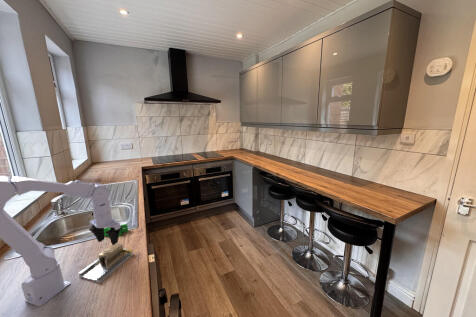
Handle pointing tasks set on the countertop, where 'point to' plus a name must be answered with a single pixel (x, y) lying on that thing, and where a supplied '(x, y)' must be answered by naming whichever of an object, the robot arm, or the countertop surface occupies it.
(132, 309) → the countertop surface
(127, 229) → the pipe clamp
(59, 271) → the robot arm
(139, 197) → the countertop surface
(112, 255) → the tan notched block
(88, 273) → the silver channel bracket
